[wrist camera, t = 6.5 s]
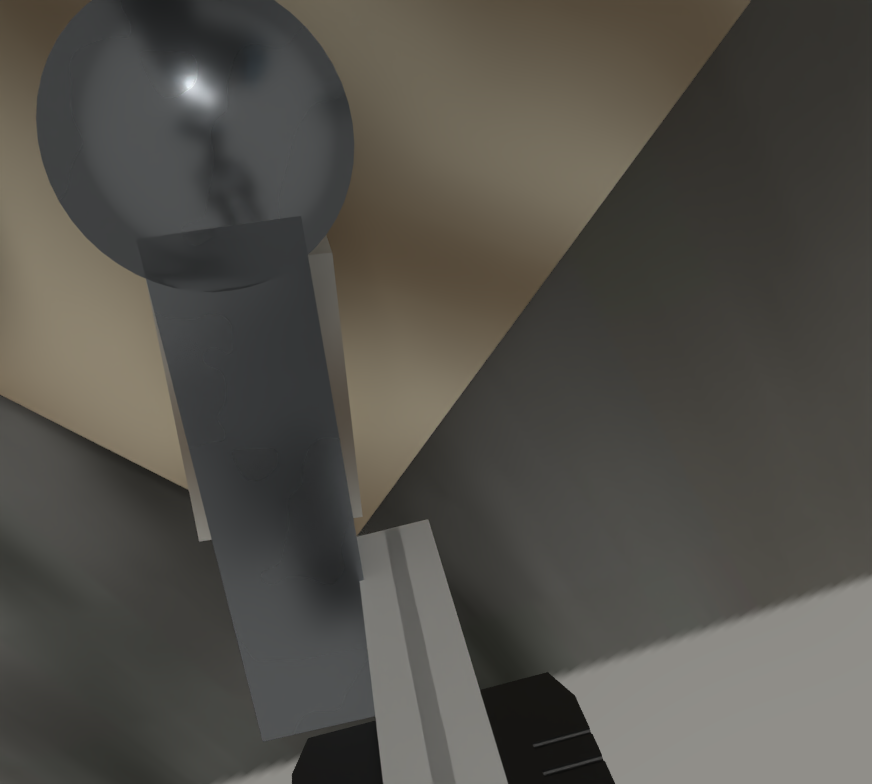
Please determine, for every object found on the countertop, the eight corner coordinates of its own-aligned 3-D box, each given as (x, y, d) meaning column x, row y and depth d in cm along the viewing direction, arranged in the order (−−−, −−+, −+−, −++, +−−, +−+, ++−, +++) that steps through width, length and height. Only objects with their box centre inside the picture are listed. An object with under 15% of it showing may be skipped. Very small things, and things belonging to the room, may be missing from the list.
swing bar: (54, 12, 11) (-8, -13, 8) (318, -15, 11) (328, -46, 9) (222, 650, 15) (211, 753, 12) (411, 610, 15) (435, 702, 13)
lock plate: (-82, -782, 11) (-659, -2189, 4) (713, 8, 17) (1006, -54, 10) (-469, 114, 14) (-1203, 126, 7) (331, 532, 20) (359, 763, 13)
